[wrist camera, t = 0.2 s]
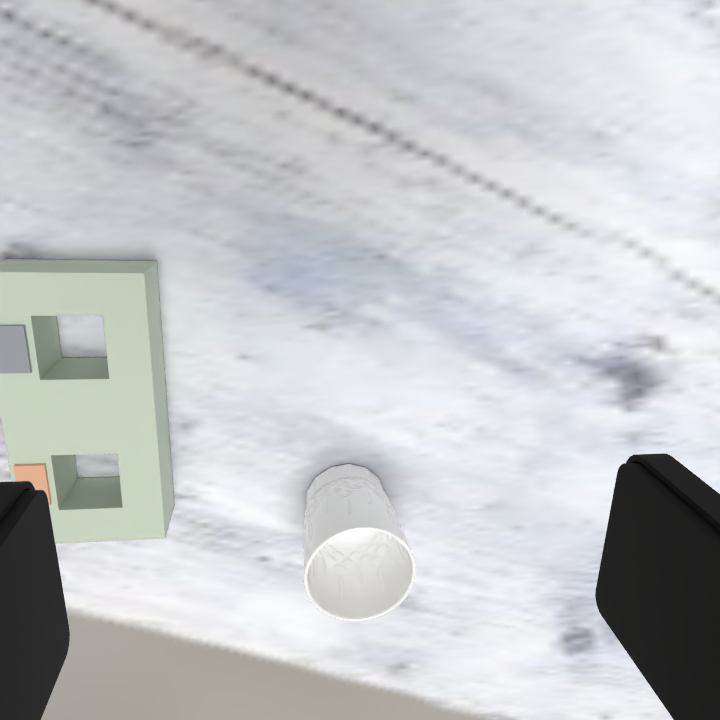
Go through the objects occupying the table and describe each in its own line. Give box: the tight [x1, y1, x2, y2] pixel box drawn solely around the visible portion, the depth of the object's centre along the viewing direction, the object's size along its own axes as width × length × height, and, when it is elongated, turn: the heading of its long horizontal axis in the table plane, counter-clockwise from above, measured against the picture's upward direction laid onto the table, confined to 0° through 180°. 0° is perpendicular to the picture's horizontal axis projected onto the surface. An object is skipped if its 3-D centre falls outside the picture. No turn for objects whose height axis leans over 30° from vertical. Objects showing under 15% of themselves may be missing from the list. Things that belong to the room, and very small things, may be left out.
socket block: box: [0, 259, 174, 544], centre depth 44 cm, size 20×10×5 cm, turn 178°
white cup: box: [304, 464, 416, 621], centre depth 47 cm, size 8×8×10 cm
